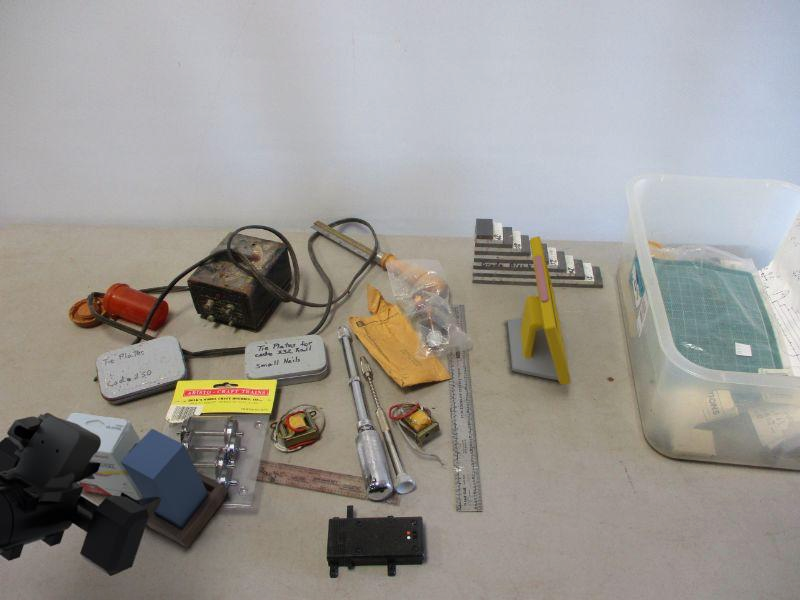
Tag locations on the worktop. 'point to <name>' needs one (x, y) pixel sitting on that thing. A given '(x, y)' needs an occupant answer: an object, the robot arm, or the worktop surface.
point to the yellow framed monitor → (539, 329)
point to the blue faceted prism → (166, 477)
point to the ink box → (109, 454)
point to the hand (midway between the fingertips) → (127, 483)
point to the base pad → (199, 518)
